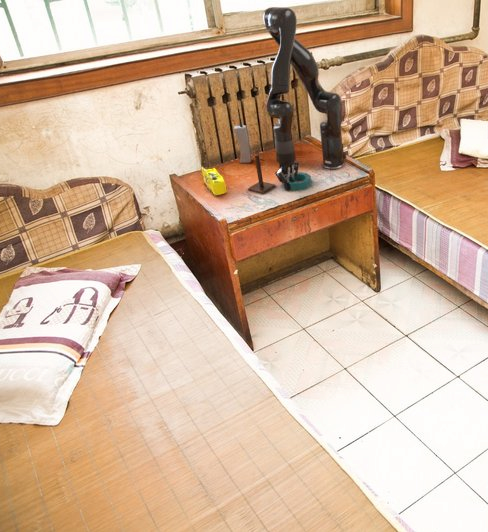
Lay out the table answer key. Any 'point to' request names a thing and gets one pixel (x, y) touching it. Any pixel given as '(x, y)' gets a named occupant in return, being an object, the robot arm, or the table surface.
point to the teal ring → (301, 184)
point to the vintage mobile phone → (243, 142)
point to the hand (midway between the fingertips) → (289, 188)
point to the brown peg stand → (260, 180)
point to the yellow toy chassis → (214, 181)
